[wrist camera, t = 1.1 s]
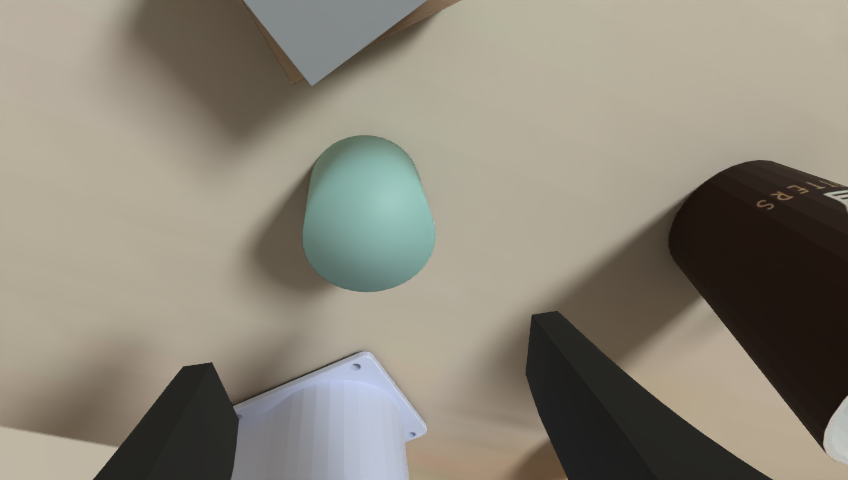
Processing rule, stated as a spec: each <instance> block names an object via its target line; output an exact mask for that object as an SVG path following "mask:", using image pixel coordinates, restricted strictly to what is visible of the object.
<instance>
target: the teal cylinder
mask: <svg viewBox="0 0 848 480" xmlns="http://www.w3.org/2000/svg"><path fill="white" fill-rule="evenodd" d="M302 243H303V249H304V252H305V255H306V257H307V260H308V261H309V263H310V264H311V266H312V267H313V269H314V270H315V271H316V272H317V273H318V274H319V275H320V276H321V277H323V278H324V279H325V280H327V281H328V282H330V283H332V284H334V285H336V286H338V287H341V288H344V289H348V290H352V291H358V292H376V291H382V290H386V289H390V288H393V287H396V286H398V285H400V284H402V283H404V282H406V281H408V280H409V279H411V278H412V277H413V276H415V275H416V274H417V273H418V272H419V271H420V270H421V269H422V268H423V267H424V265H425V264H426V263H427V261H428V259H429V258H430V256H431V253H432V251H433V248H434V244H435V226H434V221H433V218H432V215H431V212H430V209H429V206H428V203H427V200H426V196H425V193H424V190H423V187H422V184H421V181H420V178H419V175H418V172H417V169H416V167H415V164H414V163H413V161H412V159H411V158H410V157H409V155H408V154H407V153H406V152H405V151H404V150H403V149H402V148H401V147H399V146H398V145H397V144H395V143H393V142H391V141H389V140H386V139H384V138H380V137H376V136H369V135H360V136H353V137H349V138H345V139H343V140H340V141H338V142H336V143H335V144H333V145H331V146H330V147H329V148H328V149H326V150H325V151H324V152H323V153H322V154H321V156H320V157H319V158H318V160H317V161H316V163H315V165H314V167H313V170H312V173H311V178H310V184H309V191H308V198H307V205H306V211H305V218H304V225H303V232H302Z"/></svg>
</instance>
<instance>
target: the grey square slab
mask: <svg viewBox="0 0 848 480" xmlns="http://www.w3.org/2000/svg"><path fill="white" fill-rule="evenodd" d="M426 1H427V0H244V2H245V3H246V4H247V5H248V7H249V8H250V9H251V10H252V12H253V13H254V14H255V15H256V17H257V18H258V19H259V21H260V22H261V23H262V24H263V26H264V27H265V28H266V29H267V31H268V32H269V33H270V34H271V36H272V37H273V38H274V39H275V41H276V42H277V43H278V44H279V46H280V47H281V48H282V49H283V51H284V52H285V53H286V55H287V56H288V57H289V58H290V60H291V61H292V62H293V63H294V65H295V66H296V67H297V68H298V70H299V71H300V72H301V73H302V75H303V76H304V77H305V78H306V80H307V81H308V82H309V84H310V85H311V86H313V85H314V84H316V83H317V82H318V81H320V80H321V79H322V78H324V77H325V76H326V75H328V74H329V73H330V72H332V71H333V70H334V69H336V68H337V67H338V66H340V65H341V64H342V63H344V62H345V61H347V60H348V59H349V58H351V57H352V56H353V55H355V54H356V53H357V52H359V51H360V50H361V49H363V48H364V47H365V46H367V45H368V44H369V43H371V42H372V41H373V40H375V39H376V38H377V37H379V36H380V35H381V34H383V33H384V32H385V31H387V30H388V29H389V28H391V27H392V26H393V25H395V24H396V23H397V22H399V21H400V20H401V19H403V18H404V17H405V16H407V15H408V14H410V13H411V12H412V11H414V10H415V9H416V8H418V7H419V6H420V5H422V4H423V3H424V2H426Z"/></svg>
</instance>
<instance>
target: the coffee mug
mask: <svg viewBox="0 0 848 480" xmlns="http://www.w3.org/2000/svg"><path fill="white" fill-rule="evenodd" d="M669 249H670V254H671V255H672V257H673V259H674V261H675V262H676V263H677V265H678V266H679V267H680V268H681V270H682V271H683V272H684V274H685V275H686V276H687V277H688V279H689V280H690V281H691V282H692V284H693V285H694V286H695V288H696V289H697V290H698V291H699V293H700V294H701V295H702V296H703V298H704V299H705V300H706V302H707V303H708V304H709V305H710V307H711V308H712V309H713V310H714V312H715V313H716V314H717V316H718V317H719V318H720V319H721V321H722V322H723V323H724V324H725V326H726V327H727V328H728V329H729V331H730V332H731V333H732V335H733V336H734V337H735V338H736V340H737V341H738V342H739V343H740V345H741V346H742V347H743V349H744V350H745V351H746V352H747V354H748V355H749V356H750V357H751V359H752V360H753V361H754V363H755V364H756V365H757V366H758V368H759V369H760V370H761V371H762V373H763V374H764V375H765V377H766V378H767V379H768V380H769V382H770V383H771V384H772V385H773V387H774V388H775V389H776V390H777V392H778V393H779V394H780V396H781V397H782V398H783V399H784V401H785V402H786V403H787V404H788V406H789V407H790V408H791V410H792V411H793V412H794V413H795V415H796V416H797V417H798V418H799V420H800V421H801V422H802V424H803V425H804V426H805V427H806V429H807V430H808V431H809V432H810V434H811V435H812V436H813V438H814V439H815V440H816V441H817V443H818V444H819V445H820V446H821V448H822V449H823V450H824V451H825V453H826V454H827V455H828V456H829V457H831V458H832V459H833V460H834V461H836V462H840V463H843V464H846V465H848V187H846V186H843V185H840V184H837V183H834V182H832V181H829V180H826V179H823V178H820V177H817V176H814V175H811V174H808V173H805V172H802V171H799V170H796V169H793V168H790V167H787V166H784V165H781V164H778V163H775V162H773V161H765V160H757V161H749V162H745V163H741V164H738V165H735V166H732V167H730V168H728V169H726V170H724V171H722V172H720V173H718V174H717V175H715V176H714V177H712V178H711V179H709V180H707V181H706V182H705V183H704V184H703V185H701V186H700V187H699V188H698V189H697V190H696V191H695V192H694V193H693V194H692V195H691V196H690V197H689V198H688V199H687V200H686V202H685V203H684V204H683V206H682V207H681V209H680V210H679V212H678V213H677V215H676V217H675V219H674V221H673V223H672V227H671V230H670V234H669Z"/></svg>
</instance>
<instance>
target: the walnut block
mask: <svg viewBox="0 0 848 480" xmlns="http://www.w3.org/2000/svg"><path fill="white" fill-rule="evenodd" d="M242 1H243V2H244V0H242ZM459 1H461V0H427V1H426V2H424V3H423V4H422V5H420V6H419V7H418V8H416V9H415V10H414V11H412V12H411V13H410V14H408V15H407V16H405V17H404V18H403V19H401V20H400V21H399V22H397V23H396V24H395V25H393V26H392V27H391V28H389V29H388V30H387V31H385V32H384V33H383V34H381V35H380V36H379V37H377V38H376V39H375V40H373V41H372V42H371V43H369V44H368V45H367V46H365V47H364V48H366V47H368V46H370V45H372V44H374V43H376V42H379V41H381V40H383V39H385V38H387V37H389V36H391V35H393V34H395V33H397V32H399V31H401V30H403V29H405V28H407V27H409V26H411V25H413V24H415V23H417V22H419V21H421V20H423V19H425V18H427V17H429V16H431V15H433V14H435V13H437V12H439V11H441V10H443V9H445V8H447V7H449V6H451V5H453V4H455V3H457V2H459ZM244 4H245V6H246V7H247V9H248V11H249V12H250V14H251V16H252V18H253V19H254V21H255V23H256V24H257V26H258V28H259V29H260V31H261V33H262V34H263V36H264V38H265V39H266V41H267V43H268V44H269V46H270V48H271V50H272V51H273V53H274V55H275V56H276V58H277V60H278V61H279V63H280V65H281V66H282V68H283V70H284V71H285V73H286V75H287V76H288V78H289V80H290V82H291V83H292V84H294V83H296V82H298V81H300V80H302V79H304V78H305V77H304V76H303V75H302V73H301V72H300V71H299V70H298V68H297V67H296V66H295V65H294V63H293V62H292V61H291V60H290V58H289V57H288V56H287V55H286V53H285V52H284V51H283V49H282V48H281V47H280V46H279V44H278V43H277V42H276V41H275V39H274V38H273V37H272V36H271V34H270V33H269V32H268V31H267V29H266V28H265V27H264V26H263V24H262V23H261V22H260V21H259V19H258V18H257V17H256V15H255V14H254V13H253V12H252V10H251V9H250V8H249V7H248V5H247V4H246V3H245V2H244ZM364 48H363V49H364ZM361 50H362V49H361Z"/></svg>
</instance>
